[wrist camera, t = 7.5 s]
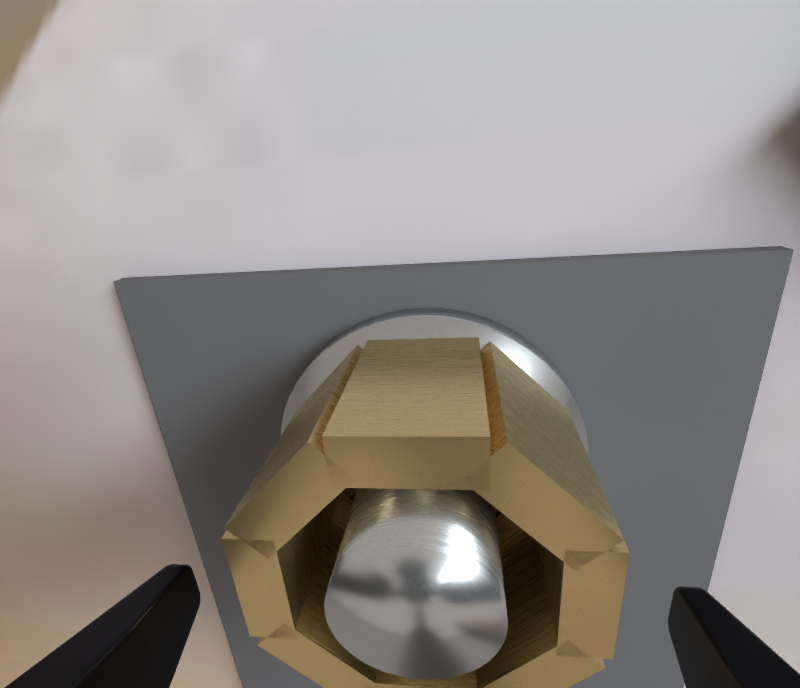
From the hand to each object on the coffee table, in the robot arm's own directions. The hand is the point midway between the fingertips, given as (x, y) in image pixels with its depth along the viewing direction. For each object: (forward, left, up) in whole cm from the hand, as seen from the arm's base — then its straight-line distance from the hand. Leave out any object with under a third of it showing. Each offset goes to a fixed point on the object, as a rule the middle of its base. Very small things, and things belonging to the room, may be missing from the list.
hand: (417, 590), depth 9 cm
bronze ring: (0, 0, -4) cm, 4 cm away
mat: (-6, 0, -5) cm, 8 cm away
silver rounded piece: (0, 0, -5) cm, 5 cm away
